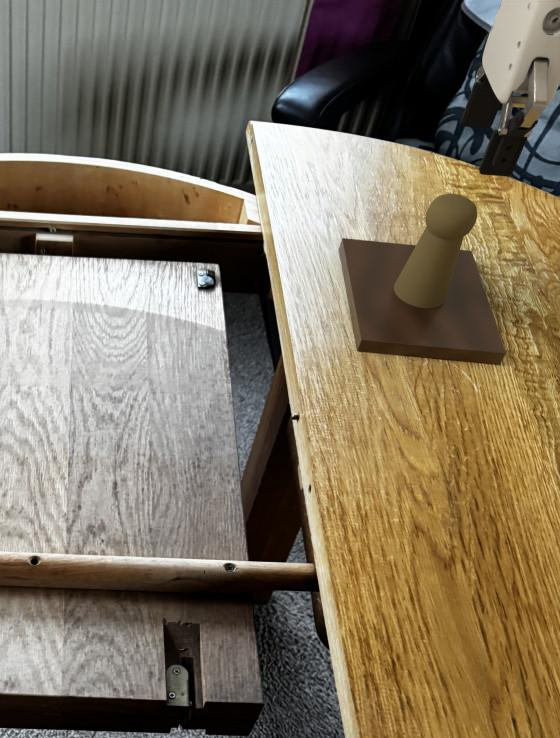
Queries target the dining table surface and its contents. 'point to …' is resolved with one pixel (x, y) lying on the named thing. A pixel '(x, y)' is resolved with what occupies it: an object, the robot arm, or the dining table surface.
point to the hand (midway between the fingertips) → (484, 149)
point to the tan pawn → (436, 252)
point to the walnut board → (414, 324)
